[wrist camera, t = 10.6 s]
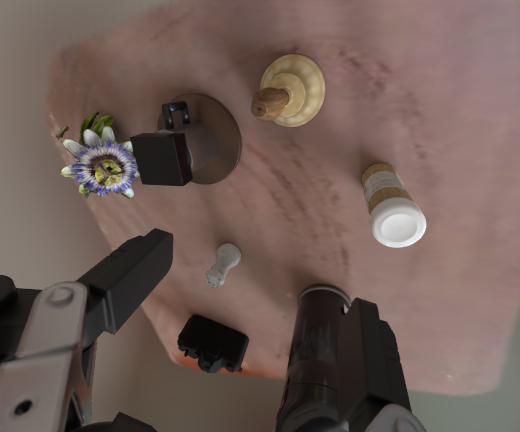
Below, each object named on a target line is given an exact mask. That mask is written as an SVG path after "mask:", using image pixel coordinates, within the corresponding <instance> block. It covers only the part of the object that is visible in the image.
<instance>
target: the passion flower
mask: <svg viewBox="0 0 520 432" xmlns="http://www.w3.org/2000/svg"><path fill="white" fill-rule="evenodd" d="M98 114H99V112H96V113H94V114H92V115H91V116H90V117H88V118H87V119H85V120H84V121H83V123H82V125H81V131H80V132H81V138H80V141H79V143H80V144H79V143H77V142H75V141H72V140H70V139H65V140H63V142H62V141H61V140H60V139H59V138H63V135H64V132H65V131H67V130H69V127H68V126H64V127H63V128H62V130H61V131H60V132H59V134H58V135H57V136H56V137H57V138H58V139H59V140H60V141H61V142H62V143H63V144H64V146H65V147H66V149H67V150H68V151H69V152H70V153H71V154H73V155H74V157H75V158H77V159H78V160H79V161H75V162H77V163H76V164H73V165H69V166H66V167H65V168H63V169H61V172H60V174H61V175H63V176H65V177H70V178H73V179H76V181H78V182H79V183H80V187H79V192H80V193H81V194H84V193H85V192H86V194H85V198H86V199H87V198H88V197H89V195H90V193H91V192H94V193H96V194H97V195H98V196H99V197H102V196H103V195H105V193H106V194H107V195H108V192H109V191H113V192H116V193H117V194H120V193H121V194H122V195H123V196H125V197H127V198H133V197H134V193H133V190H132V188H131V186H132V185H131V184H132V183H133V181H134V179H135V178H137V177H139V176H140V174H139V171H138V170H137V168H138V167H137V163H136V159H135V156H133V153H132V152H133V149H132V145H131V141H130V140H126V141H123V142H117V141H116V139H115V137H114V133H113V130H112V128H111V127H110V126H111V125H112V124H113V123H114V121H115V119H113V117H112V116H110V115H105V116H103V117H100V118H99V119H98V120H96V121H95V122H94V119H95V117H96V116H97V115H98ZM93 122H94V125H93V127H92V129H91V130H90V128H91V126H92V123H93Z"/></svg>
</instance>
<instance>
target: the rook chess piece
mask: <svg viewBox="0 0 520 432" xmlns="http://www.w3.org/2000/svg"><path fill="white" fill-rule="evenodd" d="M216 256H217V257H216V258H217V261H216V263H215V265H214V266H212V268H211V270H209V271H207V273H206V279H205V281H206V282H207V281H208V283H207V284H208V285H210V284H211V285H212V288H215V286H216V287H219V286H220V285H222V284H223V283H224V281H225V280H224V277H226V275H227V271H228V270H229V269H230V268H232V267H234V266H235V265H237V264H238V262H239V261H240V259H241V253H240V251H239V249H238V248H237V247H236V246H234V245H232V244H223V245H221V246H220V247H219V249H218V251H217V254H216Z"/></svg>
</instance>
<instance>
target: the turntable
mask: <svg viewBox="0 0 520 432" xmlns="http://www.w3.org/2000/svg"><path fill="white" fill-rule="evenodd" d="M179 101H185V102H186V103H187V106H188V112H189V118H190V121H199V122H202V123H204V124H205V125H206V126H208V127H209V128H210V129H211V131H212V132H213V134H214V136H215V139H216V143H217V149H216V153H215V155H214V157H213V158H212V159H211V160H210V161H209V162H207V163H206V164H204V165H203V166H201V167H200V168H198V169H197V170H195V171H194V172H192V176H193V180H191V182H194V183H198V184H214V183H217V182H220V181H221V180H223V179H225V178H226V177H227V176H228V175H229V174H230V173H231V172H232V171H233V170H234V169H235V167H236V166H237V164H238V162H239V159H240V155H241V148H242V143H241V135H240V131H239V128H238V126H237V123H236V121H235V119H234V118H233V116H232V115H231V113H230V112H229V111H228V110H227V109H226V107H225V106H223V105H222V104H221V103H220V102H218V101H217V100H215V99H214V98H211V97H209V96H206V95H203V94H186V95H181V96H179V97H176V98H175V99H173V100H172V101H170V102H169V103H174V102H179ZM171 113H172V118H173V123H174V126H176V125H179V124H182V117H181V112H180V110H179V111H174V112H171ZM163 129H166V127H165V122H164V117H163V113H161V115H160V118H159V122H158V131H160V130H163Z"/></svg>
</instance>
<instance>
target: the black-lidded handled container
mask: <svg viewBox="0 0 520 432" xmlns="http://www.w3.org/2000/svg"><path fill="white" fill-rule="evenodd" d="M179 110H180V112H181V117H182V124H179V125H176V126H174V123H173V118H172V113H171V112H174V111H179ZM162 113H163V117H164V122H165V127H166V129H163V130H160V131H157V132H155V133H142V134H139V135H136V136H132V137H130V141H131V145H132V149H133V152H134V156H135V159H136V163H137V167H138V170H139V174H140V177H141V181H142V184H147V185H167V186H184V185H186V184H187V183H188V182H190V181H191V180H193V176H192V172H194V171H195V170H197V169H198V168H200V167H201V166H203V165H204V164H206V163H207V162H209V161H210V160H211V159H212V158H213V157H214V155H215V153H216V149H217V143H216V139H215V136H214V134H213V132H212V131H211V129H210V128H209V127H208V126H206V125H205V124H204V123H202V122H199V121H190V118H189V112H188V106H187V103H186V102H185V101H179V102H174V103H168V104H163V105H162Z"/></svg>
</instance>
